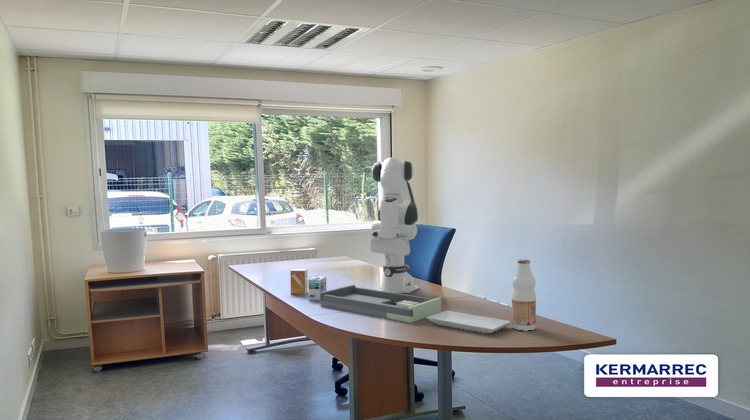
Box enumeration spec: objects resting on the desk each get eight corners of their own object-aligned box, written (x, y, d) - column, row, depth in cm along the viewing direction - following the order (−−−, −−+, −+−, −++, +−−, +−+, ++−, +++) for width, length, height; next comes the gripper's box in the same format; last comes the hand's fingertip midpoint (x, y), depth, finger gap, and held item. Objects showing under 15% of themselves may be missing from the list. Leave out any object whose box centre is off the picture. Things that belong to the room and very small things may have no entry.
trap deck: (353, 297, 291) (353, 284, 291) (441, 311, 257) (441, 297, 257) (320, 305, 273) (320, 292, 272) (410, 322, 239) (410, 307, 238)
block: (404, 309, 253) (404, 300, 253) (419, 311, 248) (419, 302, 247) (396, 311, 248) (396, 302, 248) (411, 314, 243) (411, 305, 243)
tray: (446, 317, 249) (446, 309, 249) (512, 328, 229) (512, 320, 229) (425, 325, 236) (425, 317, 236) (492, 338, 216) (492, 329, 216)
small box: (290, 294, 300) (290, 270, 299) (293, 292, 306) (292, 268, 305) (305, 294, 299) (304, 270, 298) (308, 292, 305) (307, 268, 305)
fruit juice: (515, 332, 223) (516, 262, 221) (508, 325, 232) (509, 258, 230) (539, 331, 223) (539, 261, 222) (531, 325, 233) (531, 258, 231)
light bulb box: (320, 300, 284) (320, 279, 283) (308, 300, 285) (307, 279, 284) (326, 296, 294) (326, 276, 294) (314, 296, 295) (314, 275, 295)
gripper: (412, 234, 248) (413, 264, 249) (376, 231, 261) (377, 260, 262) (404, 235, 244) (404, 266, 244) (368, 232, 256) (368, 262, 257)
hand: (390, 263), depth 253 cm, fingers closed
